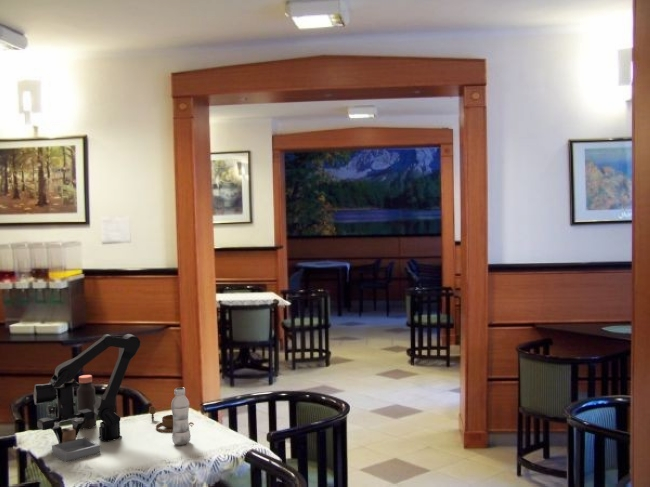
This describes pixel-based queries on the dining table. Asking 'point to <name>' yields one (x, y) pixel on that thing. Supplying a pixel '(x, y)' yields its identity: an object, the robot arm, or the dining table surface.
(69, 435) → the walnut block
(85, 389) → the vinegar
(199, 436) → the dining table surface
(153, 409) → the place setting
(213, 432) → the dining table surface
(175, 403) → the plastic bottle
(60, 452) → the charcoal tray
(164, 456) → the dining table surface
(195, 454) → the dining table surface
